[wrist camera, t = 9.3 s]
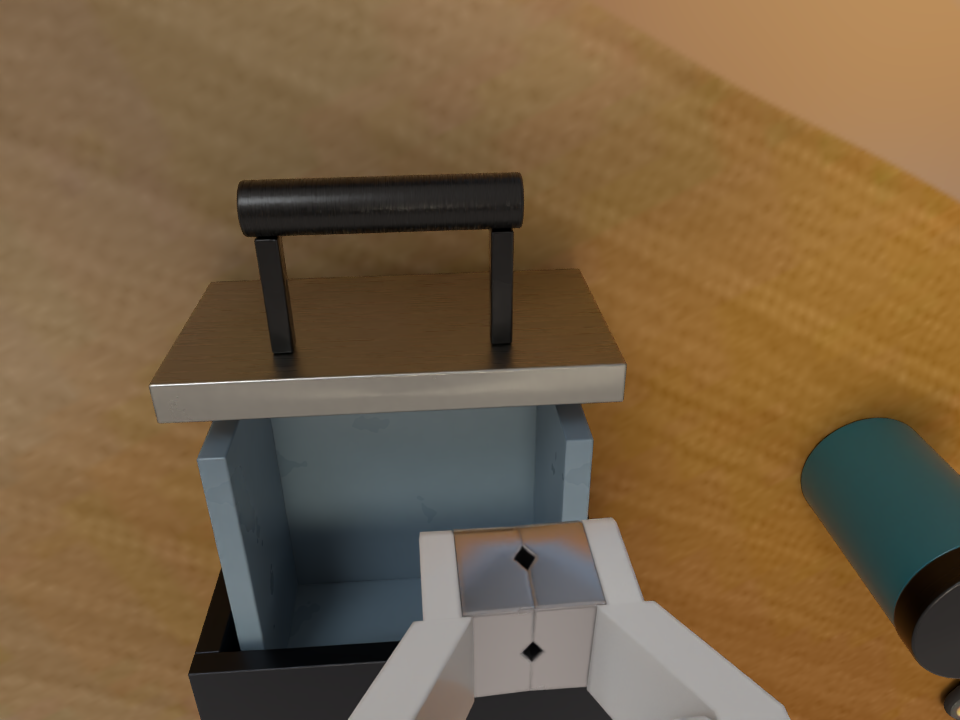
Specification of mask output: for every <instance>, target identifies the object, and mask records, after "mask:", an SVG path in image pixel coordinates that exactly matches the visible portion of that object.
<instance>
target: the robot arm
mask: <svg viewBox="0 0 960 720" xmlns="http://www.w3.org/2000/svg"><path fill="white" fill-rule="evenodd" d="M419 548H420V568H421V588H422V608H423V621H414V622H413V623H412V624H411V626H410V627H409V629H408V630H407V632H406V633H405V635H404V636H403V638H402V639H401V641H400V642H399V644H398V645H397V647H396V648H395V650H394V651H393V653H392V654H391V656H390V657H389V659H388V660H387V662H386V663H385V665H384V666H383V668H382V669H381V671H380V672H379V674H378V675H377V677H376V678H375V680H374V681H373V683H372V684H371V686H370V687H369V689H368V690H367V692H366V693H365V695H364V696H363V698H362V699H361V701H360V702H359V704H358V705H357V707H356V708H355V710H354V711H353V713H352V714H351V716H350V717H349V719H348V720H466V718H467V716H468V714H469V711H470V709H471V707H472V705H473V703H474V698H475V697H483V696H491V695H499V694H507V693H515V692H523V691H532V690H547V689H562V688H576V687H587V691H588V692H589V693H590V694H591V695H592V696H593V697H594V699H595V700H596V701H597V702H598V703H599V704H600V706H601V707H602V708H603V709H604V710H605V711H606V713H607V714H608V715H609V716H610V717H611V718H612V719H613V720H790V718H789V716H788V714H787V712H786V709H785V707H784V706H783V705H782V704H781V703H780V702H779V701H777V700H776V699H775V698H774V697H772V696H771V695H770V694H769V693H767V692H766V691H765V690H764V689H762V688H761V687H760V686H759V685H758V684H756V683H755V682H754V681H753V680H751V679H750V678H749V677H748V676H746V675H745V674H744V673H743V672H742V671H740V670H739V669H738V668H737V667H735V666H734V665H733V664H732V663H730V662H729V661H728V660H727V659H725V658H724V657H723V656H722V655H721V654H719V653H718V652H717V651H716V650H714V649H713V648H712V647H711V646H709V645H708V644H707V643H706V642H704V641H703V640H702V639H701V638H700V637H698V636H697V635H696V634H695V633H693V632H692V631H691V630H690V629H688V628H687V627H686V626H685V625H684V624H682V623H681V622H680V621H679V620H677V619H676V618H675V617H674V616H672V615H671V614H670V613H669V612H667V611H666V610H665V609H664V608H663V607H661V606H660V605H659V604H658V603H656V602H655V601H644V598H643V595H642V593H641V590H640V587H639V584H638V581H637V579H636V576H635V573H634V570H633V567H632V564H631V562H630V559H629V556H628V553H627V550H626V548H625V545H624V542H623V539H622V536H621V534H620V531H619V528H618V525H617V522H616V521H615V520H614V519H613V518H612V517H611V518H600V519H588V520H580V521H578V520H575V521H564V522H552V523H541V524H530V525H518V526H512V527H493V528H474V529H454V530H453V531H452V530H448V531H428V532H420V536H419Z"/></svg>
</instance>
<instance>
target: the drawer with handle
mask: <svg viewBox="0 0 960 720" xmlns="http://www.w3.org/2000/svg"><path fill="white" fill-rule="evenodd" d="M237 212H238V219H239V223H240V227H241V230H242V232H243V234H244V235H245V236H246V237H256V238H255V241H254V242H255V248H256V255H257V261H258V267H259V273H260V280H253V281H225V282H211V283H210V284H209V286H208V287H207V289H206V291H205V292H204V294H203V296H202V297H201V299H200V301H199V302H198V304H197V306H196V307H195V309H194V311H193V312H192V314H191V316H190V317H189V319H188V321H187V322H186V324H185V326H184V327H183V329H182V331H181V332H180V334H179V336H178V337H177V339H176V341H175V342H174V344H173V346H172V347H171V349H170V351H169V352H168V354H167V356H166V357H165V359H164V361H163V362H162V364H161V366H160V367H159V369H158V371H157V372H156V374H155V376H154V377H153V379H152V381H151V382H150V384H149V389H150V393H151V397H152V401H153V405H154V409H155V413H156V417H157V421H158V423H179V422H200V421H213V422H212V425H211V427H210V429H209V432H208V434H207V436H206V439H205V441H204V444H203V446H202V448H201V451H200V453H199V455H198V458H197V462H198V467H199V471H200V476H201V480H202V484H203V489H204V493H205V497H206V502H207V506H208V510H209V515H210V519H211V523H212V528H213V532H214V536H215V541H216V545H217V549H218V554H219V558H220V563H221V567H222V571H223V576H224V580H225V584H226V589H227V593H228V597H229V602H230V606H231V610H232V615H233V619H234V623H235V628H236V632H237V636H238V641H239V645H240V650H241V651H250V650H266V649H281V648H296V647H312V646H327V645H343V644H358V643H373V642H389V641H401V639H402V638H403V636H404V635H405V633H406V632H407V630H408V629H409V627H410V626H411V624H412V623H413V622H414V621H423V608H422V588H421V568H420V548H419V536H420V532H428V531H448V530H452V531H453V530H454V529H474V528H493V527H512V526H518V525H530V524H541V523H552V522H564V521H575V520H578V521H580V520H587V519H588V506H589V493H590V480H591V466H592V453H593V437H592V434H591V431H590V429H589V426H588V423H587V420H586V417H585V414H584V412H583V409H582V406H581V404H583V403H604V402H622V401H623V399H624V389H625V379H626V368H627V364H626V362H625V360H624V358H623V356H622V354H621V352H620V350H619V348H618V346H617V344H616V342H615V340H614V338H613V336H612V334H611V332H610V330H609V328H608V326H607V324H606V322H605V320H604V318H603V316H602V314H601V312H600V310H599V308H598V306H597V304H596V302H595V300H594V298H593V296H592V294H591V292H590V290H589V288H588V286H587V284H586V282H585V280H584V278H583V276H582V274H581V272H580V270H579V269H555V270H527V271H513V258H514V232H513V229H512V228H520V227H522V224H523V218H524V189H523V180H522V176H521V174H520V173H518V172H511V173H476V174H441V175H406V176H371V177H336V178H301V179H266V180H242V181H240V183H239V185H238V189H237ZM477 229H489V272H473V273H445V274H418V275H390V276H363V277H335V278H308V279H287V273H286V265H285V258H284V251H283V244H282V237H281V236H296V235H326V234H356V233H386V232H417V231H447V230H477Z"/></svg>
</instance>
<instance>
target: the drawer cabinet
mask: <svg viewBox="0 0 960 720" xmlns="http://www.w3.org/2000/svg"><path fill="white" fill-rule="evenodd" d="M588 519H589V517H588ZM588 519H587V520H588ZM399 642H400V641H389V642H373V643H358V644H343V645H327V646H312V647H296V648H281V649H266V650H250V651H241V650H240V645H239V641H238V636H237V632H236V628H235V623H234V619H233V615H232V610H231V606H230V602H229V597H228V593H227V589H226V584H225V580H224V576H223V571H222V567H221V571H220V574H219V577H218V580H217V584H216V587H215V590H214V593H213V596H212V600H211V603H210V606H209V609H208V613H207V616H206V619H205V622H204V625H203V629H202V632H201V635H200V638H199V642H198V645H197V648H196V651H195V655H194V658H193V661H192V664H191V667H190V670H189V674H188V676H189V679H190V683H191V686H192V690H193V693H194V697H195V700H196V704H197V708H198V711H199V715H200V718H201V720H348V719H349V717H350V716H351V714H352V713H353V711H354V710H355V708H356V707H357V705H358V704H359V702H360V701H361V699H362V698H363V696H364V695H365V693H366V692H367V690H368V689H369V687H370V686H371V684H372V683H373V681H374V680H375V678H376V677H377V675H378V674H379V672H380V671H381V669H382V668H383V666H384V665H385V663H386V662H387V660H388V659H389V657H390V656H391V654H392V653H393V651H394V650H395V648H396V647H397V645H398V644H399ZM466 720H613V719H612V718H611V717H610V716H609V715H608V714H607V713H606V711H605V710H604V709H603V708H602V707H601V706H600V704H599V703H598V702H597V701H596V700H595V699H594V697H593V696H592V695H591V694H590V693H589V692H588V691H587V687H576V688H562V689H547V690H532V691H523V692H515V693H507V694H499V695H491V696H483V697H475V698H474V703H473V705H472V707H471V709H470V711H469V714H468V716H467V718H466Z"/></svg>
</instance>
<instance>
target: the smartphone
mask: <svg viewBox="0 0 960 720" xmlns="http://www.w3.org/2000/svg"><path fill="white" fill-rule="evenodd" d="M944 709H945V711H946V712H947V713H948V714H949V715H950V716H951V717H953V718H955V719H957V720H960V685H959V686H957V687H956V688H955V689H954V690H953V691H952V692H950V693H949V694H948V695H947V697H946V698H945V700H944Z"/></svg>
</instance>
